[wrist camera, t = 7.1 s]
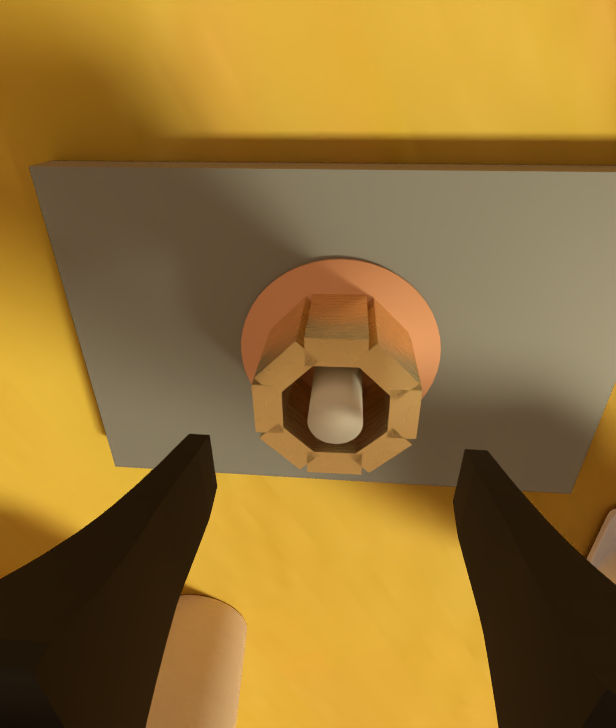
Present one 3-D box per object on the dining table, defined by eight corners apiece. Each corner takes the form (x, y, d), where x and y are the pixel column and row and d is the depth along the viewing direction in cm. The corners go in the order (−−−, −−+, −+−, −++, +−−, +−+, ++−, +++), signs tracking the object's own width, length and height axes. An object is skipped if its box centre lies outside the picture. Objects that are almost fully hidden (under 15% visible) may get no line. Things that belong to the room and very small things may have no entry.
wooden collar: (415, 295, 17) (428, 341, 14) (402, 417, 20) (410, 477, 17) (265, 292, 18) (246, 336, 15) (273, 411, 20) (259, 469, 17)
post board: (671, 165, 16) (823, 204, 11) (558, 471, 23) (617, 581, 18) (52, 160, 17) (-74, 191, 12) (128, 446, 25) (68, 541, 20)
